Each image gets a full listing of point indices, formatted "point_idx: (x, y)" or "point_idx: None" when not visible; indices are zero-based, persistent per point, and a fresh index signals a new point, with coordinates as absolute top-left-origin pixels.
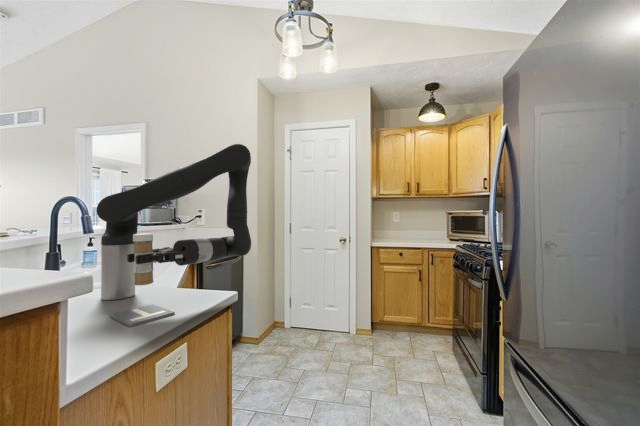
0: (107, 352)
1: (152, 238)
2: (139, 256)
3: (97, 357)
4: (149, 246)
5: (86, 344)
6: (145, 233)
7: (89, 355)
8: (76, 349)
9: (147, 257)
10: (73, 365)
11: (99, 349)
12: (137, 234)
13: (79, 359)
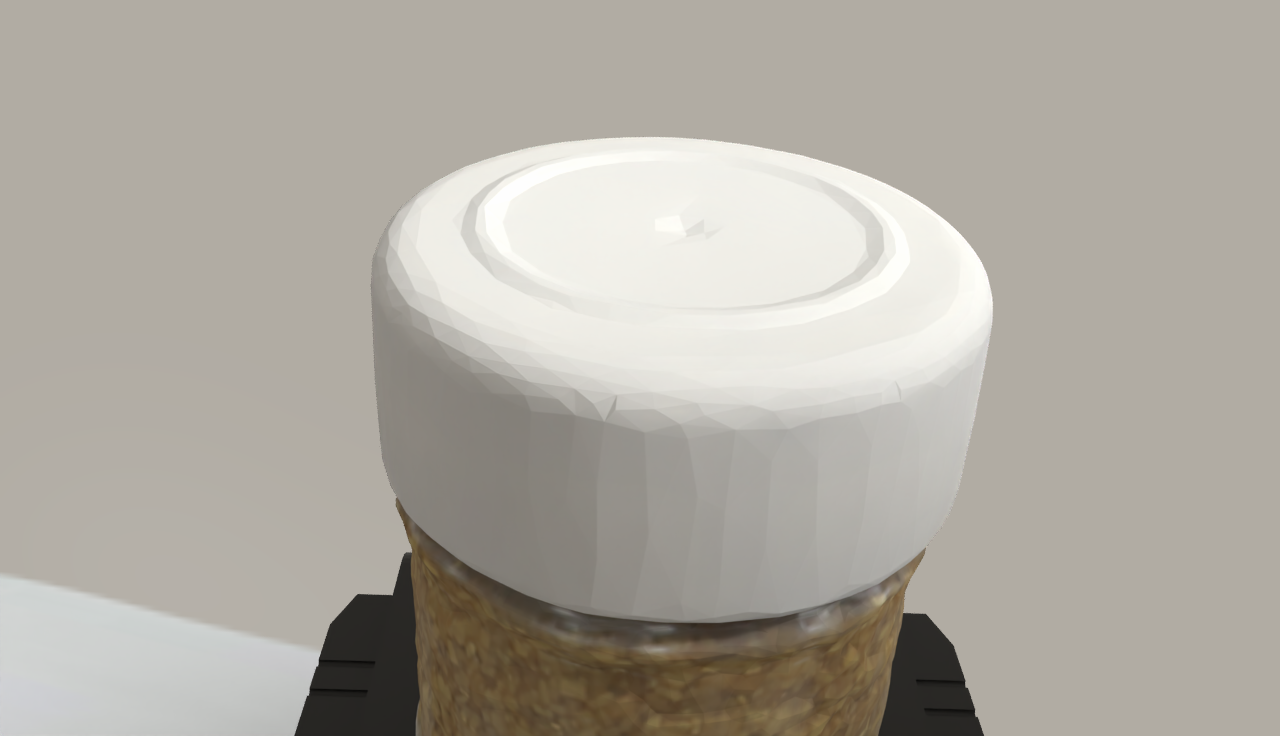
0: (3, 730)
1: (436, 496)
2: (402, 592)
3: (6, 677)
4: (417, 621)
5: (299, 706)
6: (805, 286)
7: (92, 664)
8: (277, 654)
9: (307, 727)
10: (60, 591)
11: (113, 721)
12: (591, 145)
13: (102, 624)
